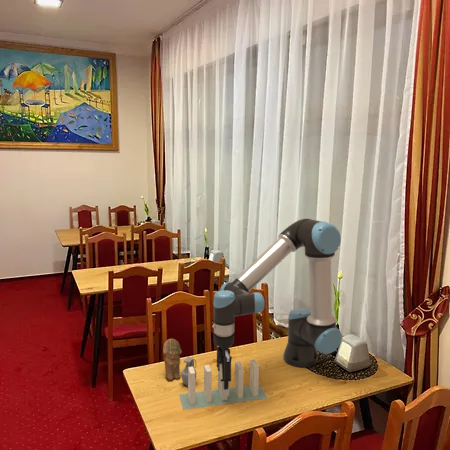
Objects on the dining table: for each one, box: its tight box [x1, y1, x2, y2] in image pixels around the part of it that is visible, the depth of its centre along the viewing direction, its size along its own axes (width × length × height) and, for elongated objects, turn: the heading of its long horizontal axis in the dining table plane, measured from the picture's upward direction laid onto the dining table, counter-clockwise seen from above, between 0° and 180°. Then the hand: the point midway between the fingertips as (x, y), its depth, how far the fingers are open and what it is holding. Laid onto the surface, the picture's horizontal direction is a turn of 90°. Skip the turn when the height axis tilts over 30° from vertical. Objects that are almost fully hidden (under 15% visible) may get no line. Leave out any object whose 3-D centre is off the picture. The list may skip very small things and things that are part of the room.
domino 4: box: [234, 360, 244, 398], centre depth 159 cm, size 2×5×12 cm, turn 14°
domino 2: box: [203, 364, 213, 402], centre depth 156 cm, size 2×5×12 cm, turn 14°
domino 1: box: [187, 367, 196, 405], centre depth 155 cm, size 2×5×12 cm, turn 14°
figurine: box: [162, 338, 182, 381], centre depth 173 cm, size 8×8×15 cm
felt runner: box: [178, 383, 269, 411], centre depth 158 cm, size 32×10×1 cm, turn 104°
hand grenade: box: [180, 356, 197, 387], centre depth 167 cm, size 6×6×11 cm
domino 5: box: [249, 359, 260, 396], centre depth 160 cm, size 2×5×12 cm, turn 14°
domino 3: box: [218, 364, 227, 400], centre depth 157 cm, size 2×5×12 cm, turn 14°
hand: (223, 391), depth 158 cm, fingers closed on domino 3, 5 cm apart
